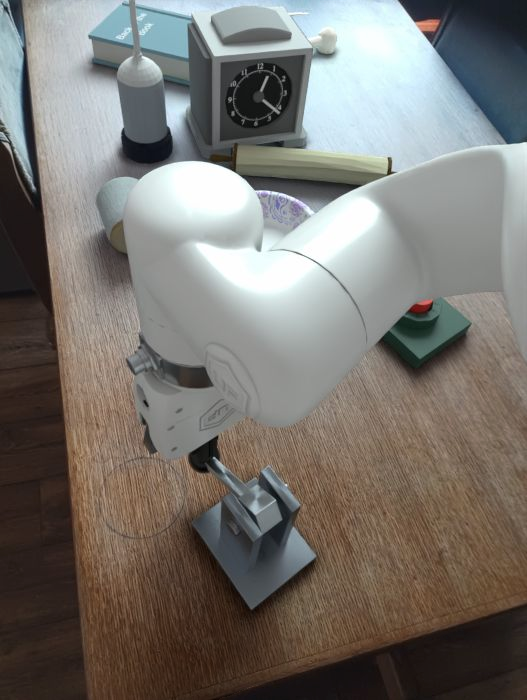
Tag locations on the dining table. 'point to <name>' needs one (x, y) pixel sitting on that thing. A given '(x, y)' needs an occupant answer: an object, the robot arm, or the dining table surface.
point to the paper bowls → (280, 216)
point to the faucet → (322, 38)
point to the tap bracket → (255, 542)
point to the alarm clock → (247, 78)
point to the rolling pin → (306, 164)
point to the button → (421, 307)
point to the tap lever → (241, 492)
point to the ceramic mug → (114, 209)
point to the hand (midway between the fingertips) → (200, 446)
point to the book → (145, 40)
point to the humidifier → (143, 105)
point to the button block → (426, 332)
